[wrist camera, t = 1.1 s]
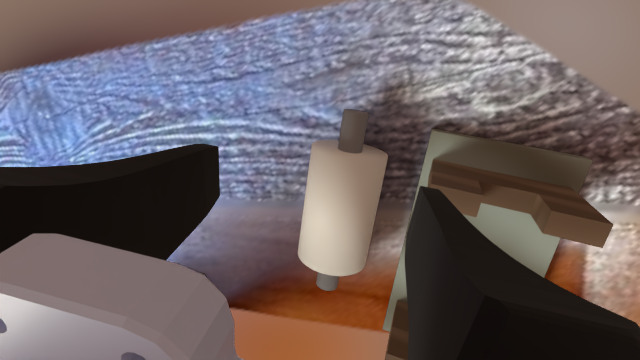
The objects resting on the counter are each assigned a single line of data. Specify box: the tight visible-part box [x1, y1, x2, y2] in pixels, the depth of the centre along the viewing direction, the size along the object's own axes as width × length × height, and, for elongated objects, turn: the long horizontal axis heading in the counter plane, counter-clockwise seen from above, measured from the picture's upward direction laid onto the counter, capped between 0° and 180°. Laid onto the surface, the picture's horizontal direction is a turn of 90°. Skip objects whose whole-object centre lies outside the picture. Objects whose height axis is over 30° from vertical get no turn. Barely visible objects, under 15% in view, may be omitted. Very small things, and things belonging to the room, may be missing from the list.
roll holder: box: [383, 128, 613, 360], centre depth 22 cm, size 16×9×6 cm, turn 172°
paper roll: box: [298, 109, 388, 291], centre depth 24 cm, size 13×5×5 cm, turn 172°
